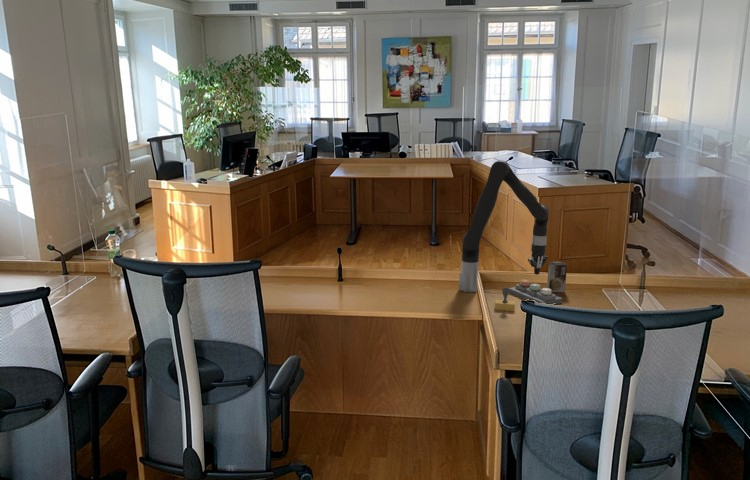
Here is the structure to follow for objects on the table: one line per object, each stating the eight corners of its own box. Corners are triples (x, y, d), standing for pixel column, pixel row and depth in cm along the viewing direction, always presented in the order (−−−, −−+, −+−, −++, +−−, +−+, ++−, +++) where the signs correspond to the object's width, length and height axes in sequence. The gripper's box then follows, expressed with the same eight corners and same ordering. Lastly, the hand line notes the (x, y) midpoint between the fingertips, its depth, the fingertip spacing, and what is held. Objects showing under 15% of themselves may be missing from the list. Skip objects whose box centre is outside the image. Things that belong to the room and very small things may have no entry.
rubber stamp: (494, 310, 318) (496, 287, 315) (495, 306, 324) (496, 284, 321) (514, 311, 316) (516, 289, 313) (514, 307, 322) (516, 285, 319)
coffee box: (562, 288, 352) (565, 261, 348) (565, 292, 345) (567, 265, 341) (546, 288, 353) (548, 261, 348) (548, 291, 346) (550, 264, 342)
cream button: (546, 296, 326) (546, 291, 325) (539, 293, 330) (539, 288, 330) (553, 294, 328) (553, 290, 328) (546, 291, 333) (546, 287, 332)
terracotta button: (524, 287, 339) (525, 283, 339) (518, 284, 344) (518, 280, 343) (531, 286, 342) (531, 281, 341) (525, 283, 346) (525, 279, 345)
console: (542, 307, 323) (543, 299, 322) (508, 292, 345) (509, 284, 343) (561, 302, 330) (562, 294, 329) (527, 288, 351) (527, 281, 350)
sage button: (535, 291, 333) (535, 287, 332) (528, 289, 337) (528, 284, 336) (542, 290, 335) (542, 285, 334) (535, 287, 339) (535, 283, 339)
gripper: (542, 240, 336) (540, 270, 340) (524, 243, 329) (522, 274, 334) (553, 243, 330) (550, 274, 334) (534, 246, 323) (532, 278, 327)
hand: (536, 274), depth 334 cm, fingers closed
